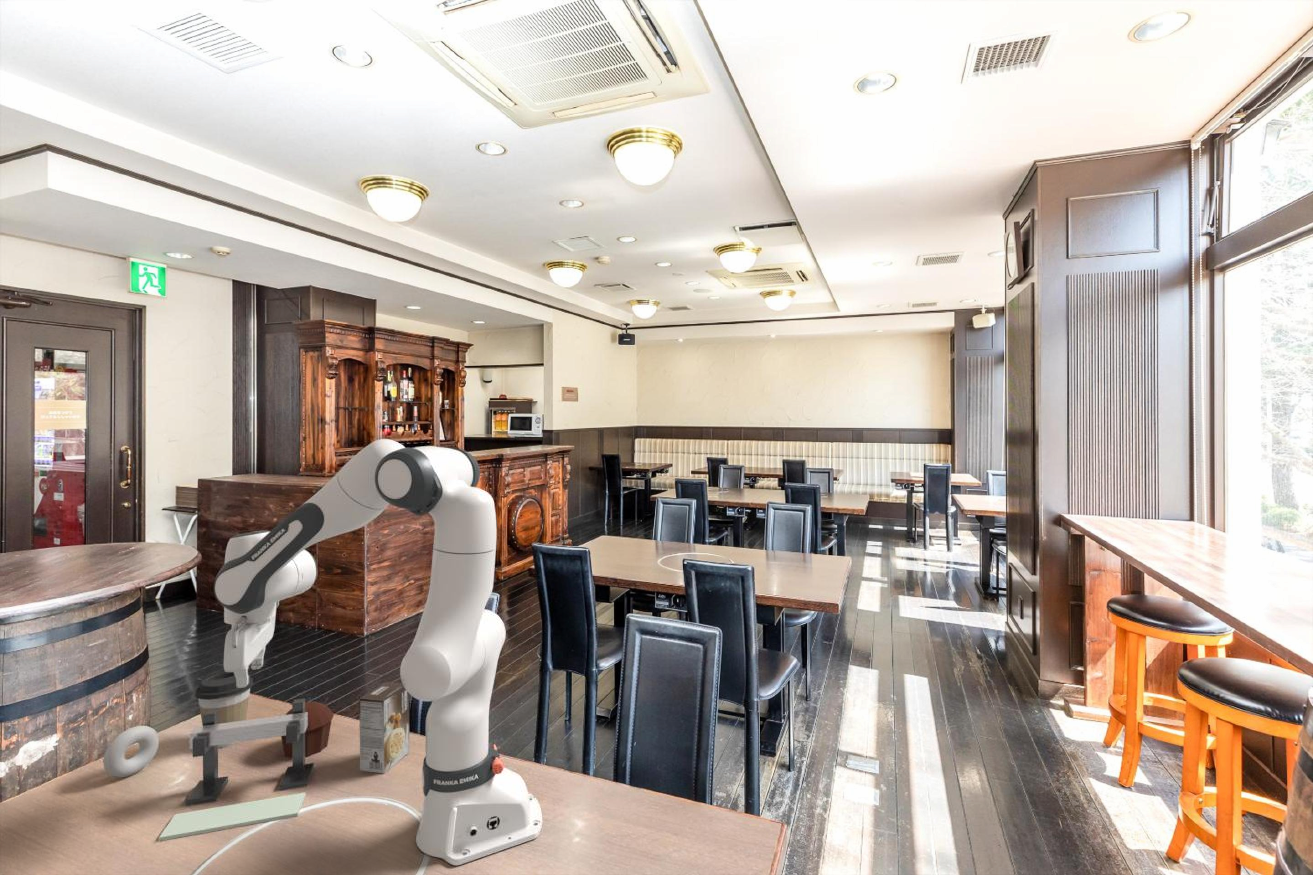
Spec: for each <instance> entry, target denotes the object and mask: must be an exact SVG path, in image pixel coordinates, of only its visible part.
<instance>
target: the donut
mask: <svg viewBox="0 0 1313 875" xmlns="http://www.w3.org/2000/svg"><path fill="white" fill-rule="evenodd" d="M136 743H137V744H139V746H138V750H137V751H136V753H135V754H134V755H133V756H131V757H130V758H128V759H126V757H125V755H126V752H127V750H128V749H129V748H130V747H131V746H132V745H134V744H136ZM159 745H160V739H159V734H158V732H157V731H156V730H155V729H154V728H153V727H150V726H148V725H137V726H133V727H130V728H128V729H126V730H124V731H122V732H120V734H118V735H117V736H116V737H114V739H113V740H112V741H111V742H110V744H108V746H107V748H106V750H105V752H104V754H103V760H102V763H103V764H102V765H103V767H104V770H105V771H106V772H107V774H109V775H110V776H112V777H115V778H126V777H129V776H132V775H134V774H136V773H138V772H140V771H142V770H143V769H144V768H145V767H146V766H147V765H149V764H150V763H151V761H152V760H153V759H154V757H155V756H156V753H157V751H158V748H159Z"/></svg>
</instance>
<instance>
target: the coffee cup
mask: <svg viewBox="0 0 1313 875" xmlns="http://www.w3.org/2000/svg"><path fill="white" fill-rule="evenodd" d="M253 680H254V679H253V678H252V677H251V676H249V683H248V685H247V686H246V687H242V688H238V687H237V686H236V677H235V675H234V672H225V671H223V672H219V673H215V674H213V675H210V676H208V677H206V678H204V679H203V680H202V681H201V682H200V685H199V686H198V687H197V688H196V690H195V694H194V697H195V698H197V700H198V706H199V711H200V712H199V713H200V718H201V723H202V725H201V726H203V714H204V713H205V712H206V711H208V710H216V709H218V724H221V723H229V722H236V721H244V720H247V714H248V707H249V699H250V693H251V688H252V687H253V686H254V682H253ZM237 743H238V742H236V743H229V744H222V745H218V749H222V748H221V747H223V748H225V747H226V746H227V747H230V746H233V745H234V744H237ZM229 745H230V746H229ZM227 747H226V748H227Z"/></svg>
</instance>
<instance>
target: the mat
mask: <svg viewBox="0 0 1313 875" xmlns="http://www.w3.org/2000/svg"><path fill="white" fill-rule="evenodd" d="M306 795H307V792H301V793H294V794H288V795H281V796H278V797H277V796H276V797H270V798H269V797H268V798H264V799H259V800H253V801H252V800H251V801H246V802H240V803H235V804H234V803H233V804H229V805H228V804H227V805H223V806H217V807H212V808H211V807H210V808H206V809H205V808H203V809H200V810H193V811H187V812H182V813H181V812H180V813H176V814H174V815H173V817H172V818H171V819H170V821H169V823H168V824H167V825H166V826H165V828H164V829H163V831H162V832H161V833H160V835H159V837H158V842H162V841H165V840H166V841H167V840H173V839H177V838H184V837H189V836H190V837H191V836H195V835H199V834H207V833H210V832H211V833H212V832H217V831H223V830H227V829H232V828H233V829H234V828H238V827H239V828H240V827H243V826H251V825H254V824H255V825H257V824H260V823H266V822H272V821H277V820H283V819H288V818H289V819H290V818H294V817H298V816H299V814H300V811H301V808H302V806H303V804H304V801H305V799H306Z"/></svg>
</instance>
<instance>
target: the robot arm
mask: <svg viewBox="0 0 1313 875" xmlns="http://www.w3.org/2000/svg"><path fill="white" fill-rule="evenodd" d="M480 478H481V469H480V466H479V463H478V461H477V459H476V457H474V456H473V454H471V453H470V452H468V451H466V450H464V449H461V448H459V447H458V448H457V447H443V446H435V445H426V446H425V445H424V446H415V447H405V446H404V444H402V443H399V442H398V441H396V440H392V439H389V438H381V439H380V438H379V439H376V440H375V441H372V442H370V443H369V444H368V445H367V446H365V447H364V448H362V449H361V450H360V451H358V452H357V453H356V454H355V455H354V456H353V457H352V458H351V459H349V460H348V461H347V462H346V463H345V464H344V465H343V466H342V467H341V468H340V469H339V470H338V471H337V473H336V474H335V475H334V476H332V478H331V479H330V480H329V481H327V483H326V484H325V485H324V486H323V487H322V488H321V489H319V490H318V491H317V492H316V493H315V494H314V495H313V496H311V497H310V498H309V499H308V500H306V501H305V502H304V503H302V504H301V505H300V506H299V507H297V508H296V509H295V510H293V511H292V512H291V513H289V514H288V515H287V516H286V517H285V518H284V519H282V520H281V521H280V522H279V523H278V524H277V525H276V526H274V527H273V529H271V530H267V529H265V530H264V529H262V530H256V531H255V530H254V531H251V532H244V533H239V534H236V535H234V536H232V537H231V538H230V539H229V540H228V542H227V545H226V549H225V556H224V564H223V565H222V566H221V567H220V569H219V571H218V573H217V575H216V577H215V579H214V583H213V594H214V597H215V599H216V600H217V602H218V603H219V604H220V605H221V606H222V607H223V610H224V611H223V618H224V619H223V622H224V623H225V624H228V625H231V629H229V631H228V632H227V633H226V635H225V641H224V648H223V649H224V651H223V669H224V672H234V675H235V677H236V686H237V687H238V688H242V687H246V686H247V685H248V683H249V677H250V675H249V672H248V671H249V666H250V665H251V666H250V667H251V669H252V670H259V669H261V668H262V667H263V665H264V656H265V652H266V646H267V645H268V644H269V643H270V641H271V640H272V639H273V637H274V632H275V627H276V615H277V608H278V607H279V605H280V601H284V600H286V599H288V598H292V597H295V596H297V595H301V594H303V593H305V592H306V591H309V590H310V589H312V587H313V586H315V582H316V580H317V578H318V569H319V568H318V563H317V560H316V558H315V557H314V556H313V554H312V553H311V552H309V551H308V550H306V549H307V548H308V547H310V546H313V545H314V544H316V543H319V542H321V541H324V540H327V539H330V538H333V537H337V536H339V535H343V534H346V533H349V532H353V531H356V530H358V529H361V528H363V527H365V526H366V525H368V524H369V523H370V522H372V521H373V520H375V519H376V518H377V517H378V516H379V515H381V514H382V513H383V512H384V511H385V509H386V508H388V507H389V505H391V506H395V507H398V508H399V509H403V510H406V511H408V512H410V513H412V514H413V515H414V514H415V515H417V516H424V515H426V514H429V515H430V516H431V517H432V520H433V523H434V535H433V536H434V537H433V548H432V549H433V550H432V558H431V561H432V562H431V571H430V580H429V581H430V584H429V590H428V594H427V599H426V602H425V604H424V605H425V606H424V609H423V610H422V615H421V617H420V621H419V624H418V628H417V629H416V632H415V633H416V634H415V636H414V638H413V641H412V643H411V645H410V647H409V648H408V650H407V652H406V653H405V654H404V657H403V658H402V661H401V664H400V669H399V676H400V680H401V683H402V684H403V686H404V688H405V689H406V690H407V692H408V693H409V696H412V697H413V698H414V699H416V700H418V701H421V702H431V704H430V706H429V708H428V711H427V713H426V717H425V756H424V758H423V764H422V770H421V771H422V772H421V774H422V775H421V777H422V778H421V779H422V780H421V781H422V791H423V804H422V810H421V817H420V820H419V821H420V822H419V827H418V829H417V832H416V836H415V842H416V846H417V847H418V849H419V850H420V851H421V852H423V853H424V854H426V855H428V856H430V857H435V858H439V859H443V860H444V861H445V862H447V863H448V864H450V865H452V866H460V865H463V864H466V863H469V862H472V861H475V860H477V859H480V858H483V857H486V856H489V855H492V854H495V853H498V852H500V851H503V850H506V849H510V848H512V847H515V846H518V845H520V844H523V843H526V842H530V841H532V840H535V839H536V838H537V837H538V836H539V834H540V833H541V831H542V828H543V815H542V814H543V813H542V809H541V806H540V802H539V801H538V799H537V798H536V797H535V796H534V794H532V793H531V792H529V791H528V790H529V789H528V787H527V785H526V782H525V780H524V779H523V777H522V776H521V775H520V774H519V773H517V772H514V771H512V770H511V769H508V768H507V767H505V766H504V762H503V760H502V759H501V758H500V757H501V756H500V752H499V750H498V748H497V746H496V744H495V743H494V744H493V747H492V746H490V745H489V724H490V723H489V722H490V721H489V719H490V718H489V717H490V716H489V714H490V704H491V698H492V694H493V688H494V684H495V678H496V672H497V668H498V662H499V661H498V660H499V657H500V653H501V652H502V648H503V646H504V643H505V640H506V635H507V634H506V633H507V632H506V627H505V623H504V621H503V619H502V618H501V617H500V615H498V614H497V613H495V611H492V610H489V609H485V608H486V606H487V603H488V601H489V598H490V597H491V595H492V592H493V589H494V580H495V565H496V553H497V552H496V551H497V539H498V538H497V535H498V534H497V533H498V532H497V513H496V507H495V502H494V499H493V496H492V495H491V494H490V493H489V492H487V491H486V490H483V489H482V488H480V487H479V488H478V487H477V486H478V484H479V482H480Z"/></svg>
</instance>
